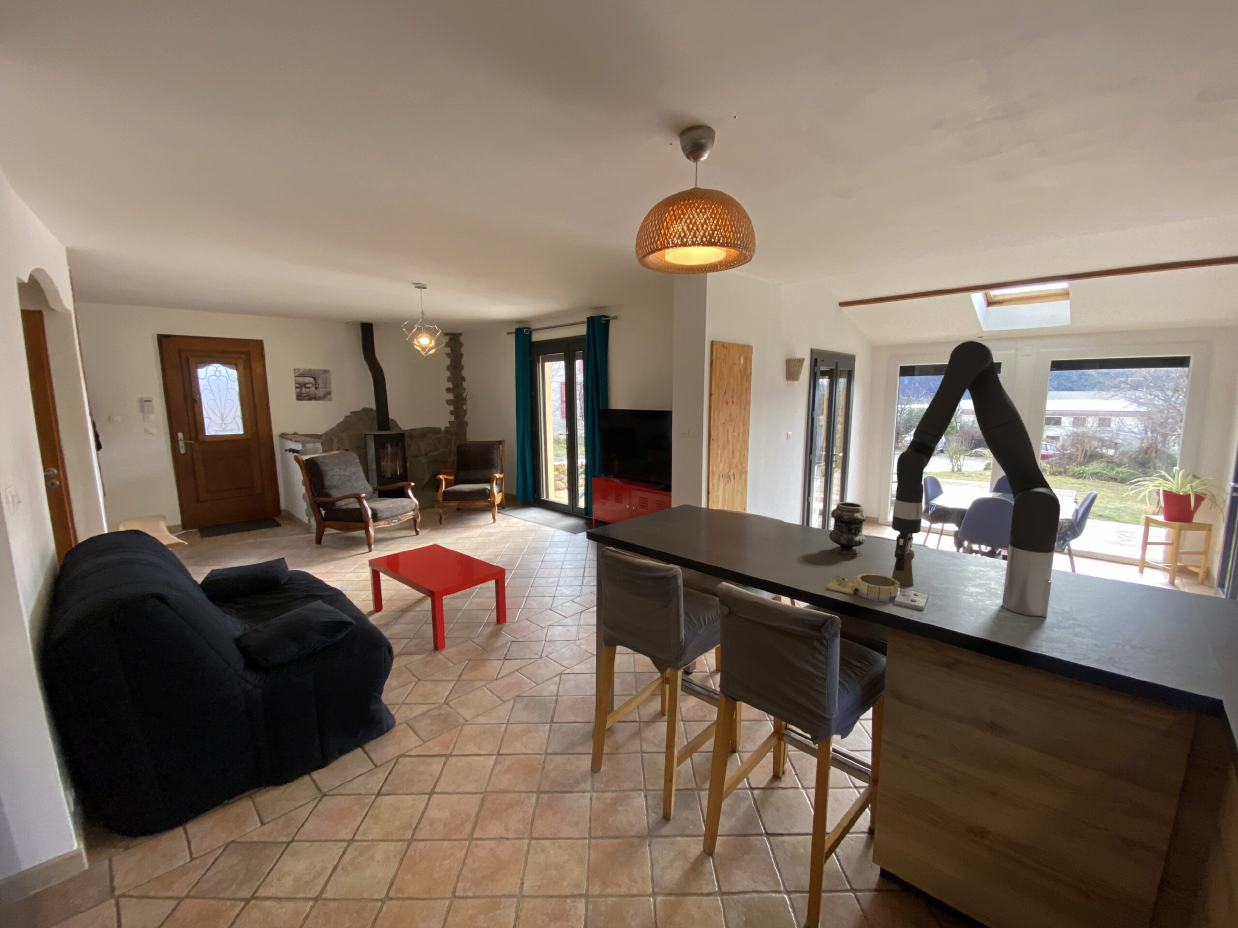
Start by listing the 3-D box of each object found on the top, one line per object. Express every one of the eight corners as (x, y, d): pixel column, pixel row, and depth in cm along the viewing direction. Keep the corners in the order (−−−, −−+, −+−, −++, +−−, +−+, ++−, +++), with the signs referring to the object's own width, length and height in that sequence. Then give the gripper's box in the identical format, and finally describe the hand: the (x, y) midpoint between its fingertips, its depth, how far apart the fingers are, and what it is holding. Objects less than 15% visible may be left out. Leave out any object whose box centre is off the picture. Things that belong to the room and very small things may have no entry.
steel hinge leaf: (928, 597, 141) (929, 591, 141) (923, 611, 132) (924, 604, 132) (860, 583, 152) (861, 577, 151) (851, 594, 143) (852, 588, 143)
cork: (892, 585, 150) (895, 550, 149) (889, 578, 156) (892, 544, 154) (915, 588, 148) (918, 552, 146) (911, 580, 154) (914, 546, 152)
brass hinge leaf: (901, 592, 145) (902, 579, 144) (894, 604, 136) (895, 590, 136) (837, 578, 156) (837, 566, 155) (827, 589, 147) (828, 576, 147)
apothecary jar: (868, 558, 174) (872, 508, 171) (832, 556, 176) (835, 507, 174) (859, 548, 186) (862, 501, 183) (825, 546, 188) (828, 500, 185)
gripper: (918, 522, 141) (912, 576, 143) (924, 512, 152) (919, 563, 155) (888, 517, 146) (883, 570, 148) (897, 508, 157) (892, 557, 159)
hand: (901, 566), depth 151 cm, fingers open, 8 cm apart
